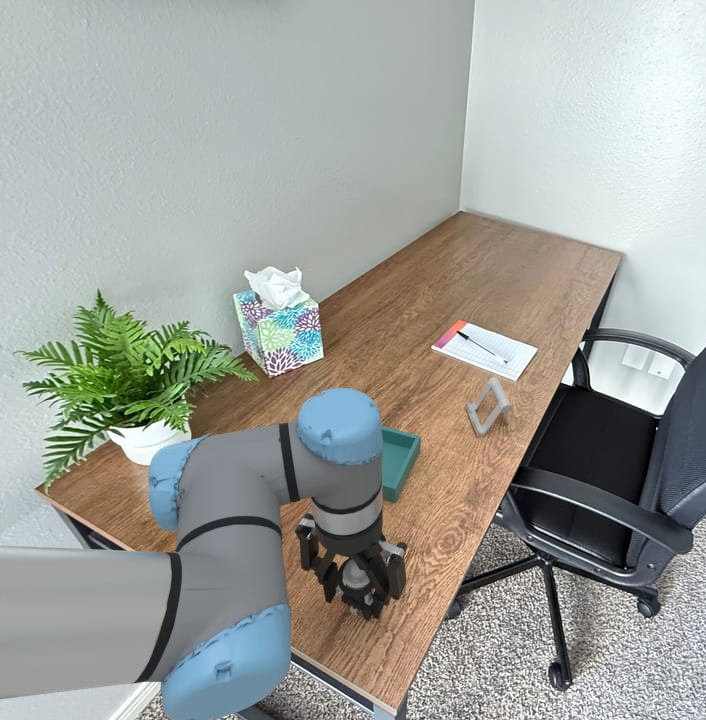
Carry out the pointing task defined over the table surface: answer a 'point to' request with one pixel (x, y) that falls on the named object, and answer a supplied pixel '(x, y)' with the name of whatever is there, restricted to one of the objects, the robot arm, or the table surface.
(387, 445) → the tray
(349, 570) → the push button
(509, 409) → the tablet stand
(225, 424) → the table surface
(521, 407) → the table surface
